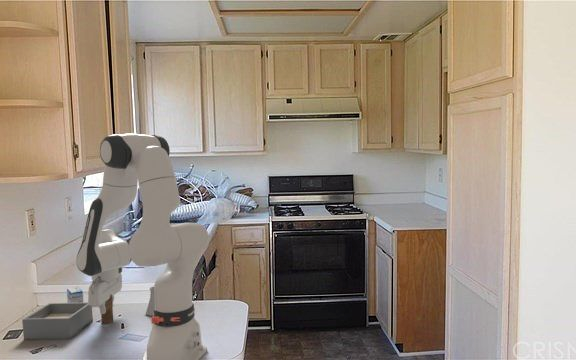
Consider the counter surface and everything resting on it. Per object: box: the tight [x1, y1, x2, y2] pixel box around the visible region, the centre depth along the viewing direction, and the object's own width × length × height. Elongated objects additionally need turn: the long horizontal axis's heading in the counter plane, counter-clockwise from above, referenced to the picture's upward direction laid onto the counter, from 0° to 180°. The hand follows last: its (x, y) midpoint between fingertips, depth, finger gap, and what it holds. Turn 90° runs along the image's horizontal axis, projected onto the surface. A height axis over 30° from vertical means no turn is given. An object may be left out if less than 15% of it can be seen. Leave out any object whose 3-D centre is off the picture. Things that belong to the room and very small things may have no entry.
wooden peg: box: [100, 294, 114, 325], centre depth 166 cm, size 4×4×10 cm
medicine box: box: [66, 286, 85, 303], centre depth 179 cm, size 8×4×9 cm, turn 37°
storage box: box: [21, 301, 94, 341], centre depth 160 cm, size 16×16×7 cm
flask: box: [145, 286, 155, 317], centre depth 174 cm, size 7×7×10 cm
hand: (106, 310), depth 167 cm, fingers closed on wooden peg, 4 cm apart
